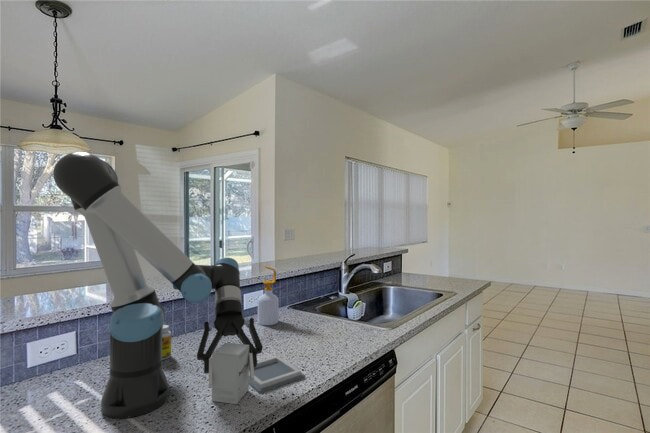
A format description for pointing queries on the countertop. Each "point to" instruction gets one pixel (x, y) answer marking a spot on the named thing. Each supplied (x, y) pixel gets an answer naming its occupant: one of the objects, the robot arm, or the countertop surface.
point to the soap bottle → (268, 304)
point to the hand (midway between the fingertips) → (231, 382)
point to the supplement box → (230, 373)
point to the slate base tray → (273, 374)
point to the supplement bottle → (166, 342)
